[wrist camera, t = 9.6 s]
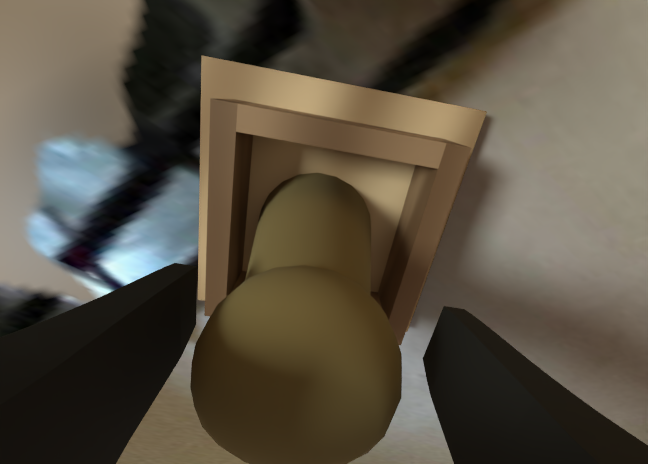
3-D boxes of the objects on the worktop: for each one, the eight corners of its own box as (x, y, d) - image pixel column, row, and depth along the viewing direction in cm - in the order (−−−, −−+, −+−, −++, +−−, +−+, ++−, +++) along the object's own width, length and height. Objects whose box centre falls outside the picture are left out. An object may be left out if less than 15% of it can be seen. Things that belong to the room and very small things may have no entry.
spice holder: (479, 111, 15) (525, 114, 11) (404, 323, 20) (420, 370, 16) (208, 58, 14) (168, 43, 11) (203, 291, 19) (174, 334, 16)
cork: (357, 158, 15) (416, 279, 5) (381, 263, 17) (454, 496, 7) (242, 189, 16) (82, 351, 6) (279, 286, 18) (213, 526, 8)
